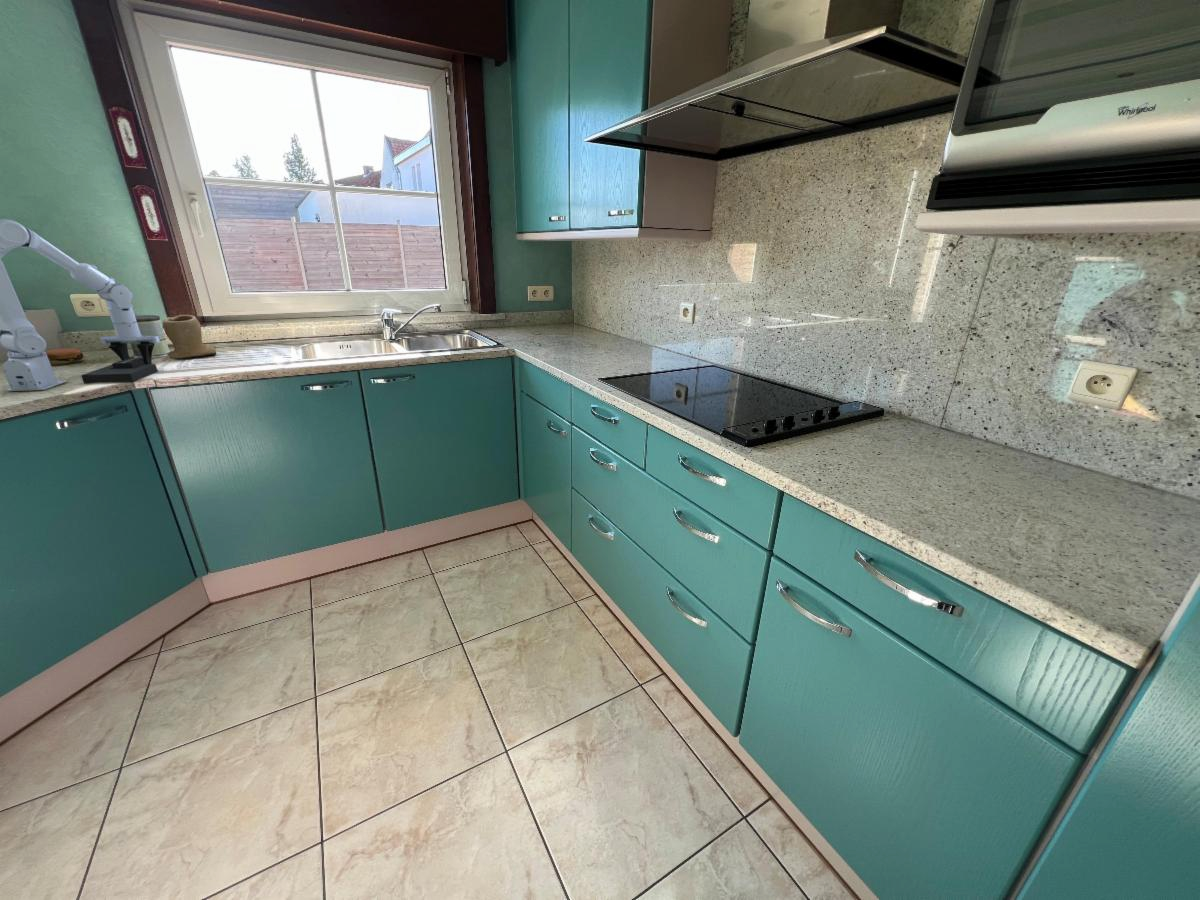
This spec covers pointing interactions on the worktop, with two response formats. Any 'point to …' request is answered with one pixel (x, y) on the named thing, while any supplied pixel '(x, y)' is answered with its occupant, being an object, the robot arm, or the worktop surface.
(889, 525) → the worktop surface
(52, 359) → the burger
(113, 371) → the notch pad
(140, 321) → the coffee can
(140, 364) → the pad
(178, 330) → the tan suede boot
